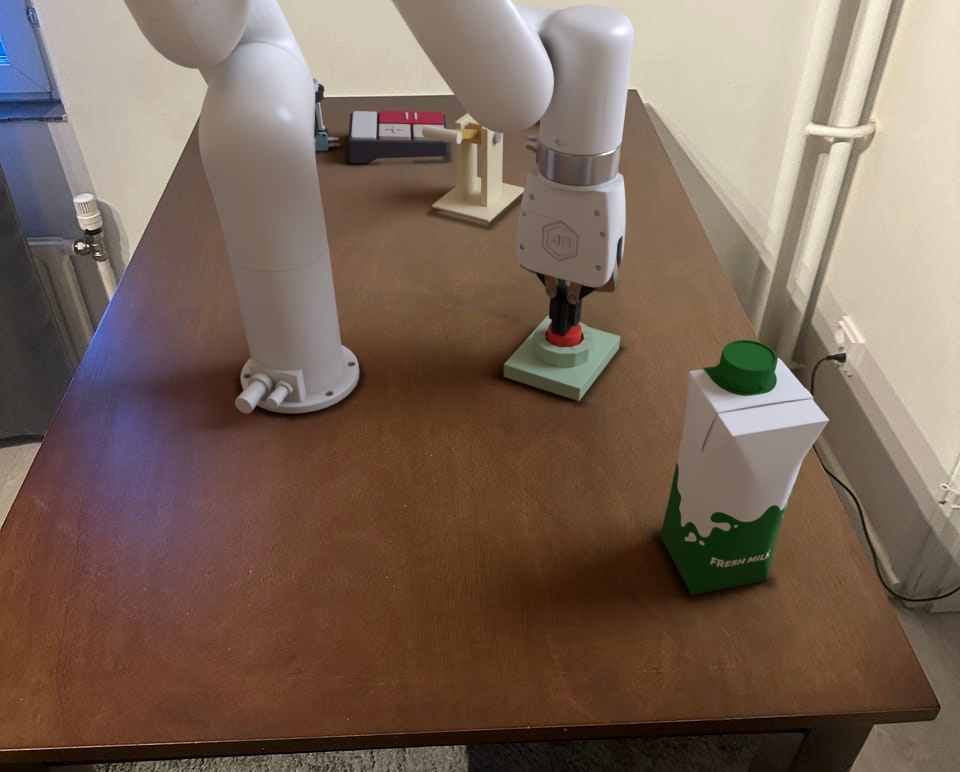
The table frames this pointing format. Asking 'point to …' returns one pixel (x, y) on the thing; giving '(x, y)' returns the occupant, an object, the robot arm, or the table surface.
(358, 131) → the calculator
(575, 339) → the red button
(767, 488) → the milk carton
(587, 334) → the switch box
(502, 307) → the table surface
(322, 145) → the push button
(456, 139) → the switch lever
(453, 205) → the switch bracket
